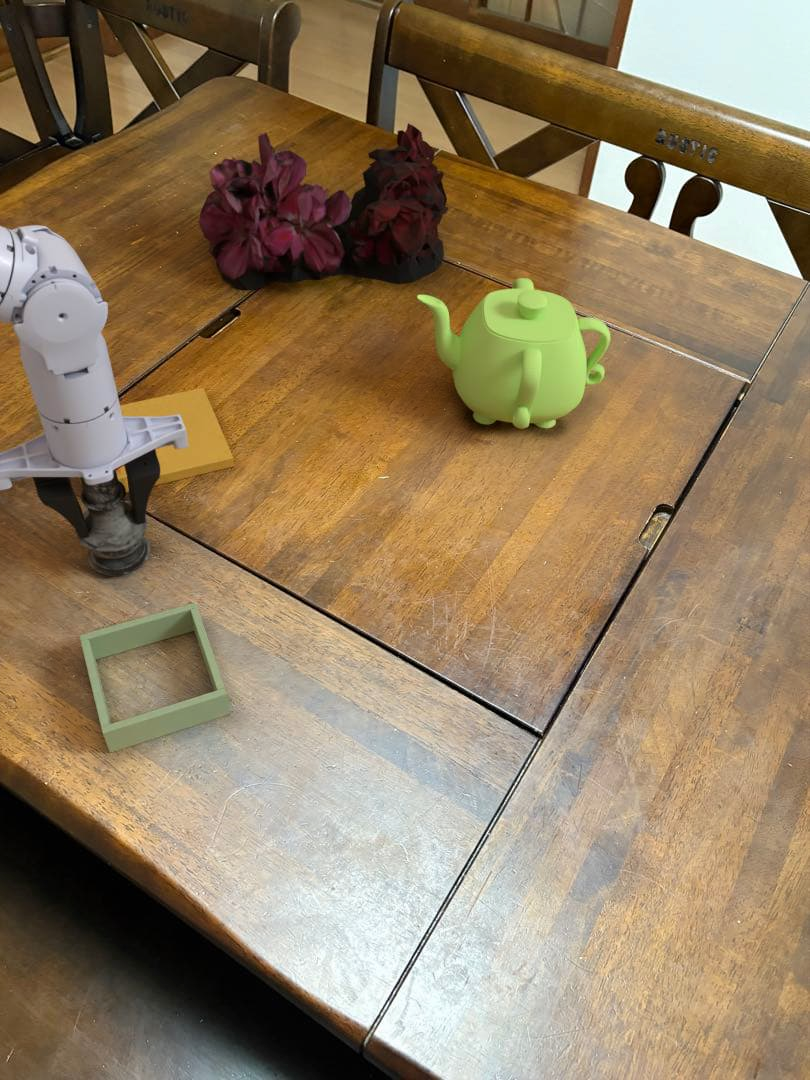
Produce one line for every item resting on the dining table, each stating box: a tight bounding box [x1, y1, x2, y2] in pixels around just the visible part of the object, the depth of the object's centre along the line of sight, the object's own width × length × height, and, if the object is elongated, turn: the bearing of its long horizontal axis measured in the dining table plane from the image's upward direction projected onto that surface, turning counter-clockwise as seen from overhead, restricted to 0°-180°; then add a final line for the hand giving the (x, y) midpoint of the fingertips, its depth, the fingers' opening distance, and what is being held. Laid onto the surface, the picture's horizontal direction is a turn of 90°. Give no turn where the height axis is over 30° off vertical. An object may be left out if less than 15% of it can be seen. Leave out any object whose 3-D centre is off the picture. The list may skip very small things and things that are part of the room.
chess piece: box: [75, 469, 151, 577], centre depth 75 cm, size 6×6×12 cm
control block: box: [78, 387, 235, 493], centre depth 88 cm, size 14×12×3 cm
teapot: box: [416, 277, 611, 430], centre depth 92 cm, size 16×14×13 cm
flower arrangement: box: [198, 123, 450, 291], centre depth 108 cm, size 31×20×15 cm, turn 114°
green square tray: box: [78, 602, 231, 754], centre depth 71 cm, size 9×9×3 cm
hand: (110, 522), depth 77 cm, fingers closed on chess piece, 4 cm apart
